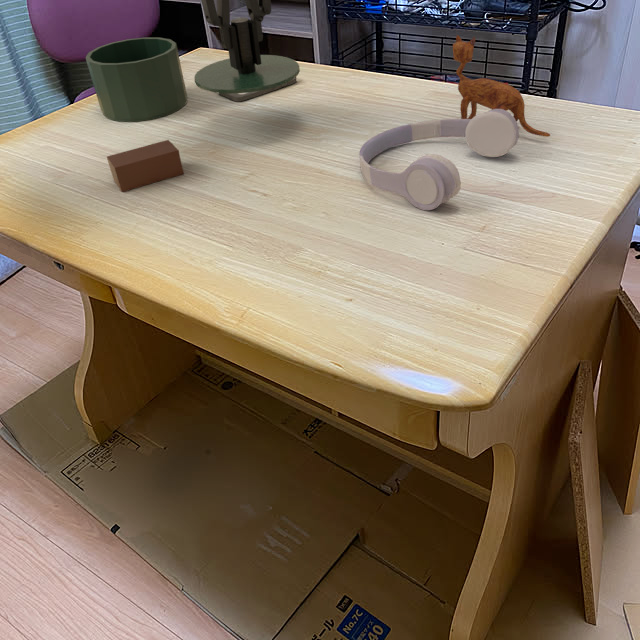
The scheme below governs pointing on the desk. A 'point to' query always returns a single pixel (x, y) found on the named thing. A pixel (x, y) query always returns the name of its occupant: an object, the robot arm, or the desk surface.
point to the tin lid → (246, 68)
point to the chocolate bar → (145, 165)
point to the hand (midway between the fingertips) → (246, 64)
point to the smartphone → (253, 94)
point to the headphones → (434, 170)
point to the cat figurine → (487, 90)
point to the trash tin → (137, 79)
